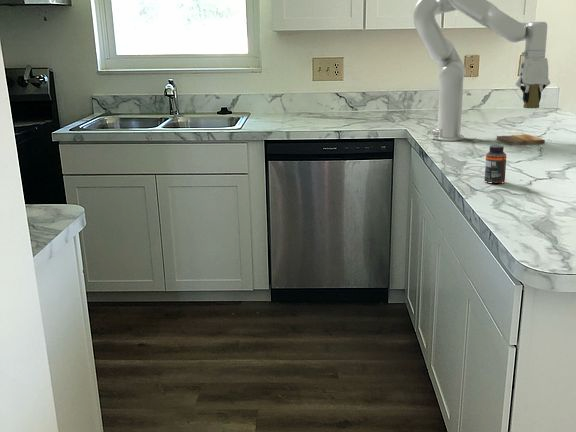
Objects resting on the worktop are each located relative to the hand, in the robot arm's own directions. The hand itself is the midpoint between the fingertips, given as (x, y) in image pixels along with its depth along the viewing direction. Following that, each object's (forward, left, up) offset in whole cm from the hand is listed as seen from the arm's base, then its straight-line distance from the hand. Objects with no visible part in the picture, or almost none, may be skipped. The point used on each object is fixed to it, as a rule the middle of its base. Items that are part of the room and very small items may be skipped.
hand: (531, 101), depth 249 cm
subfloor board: (-3, 0, -16) cm, 16 cm away
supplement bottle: (-41, -61, -16) cm, 76 cm away
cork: (0, 0, -2) cm, 2 cm away
